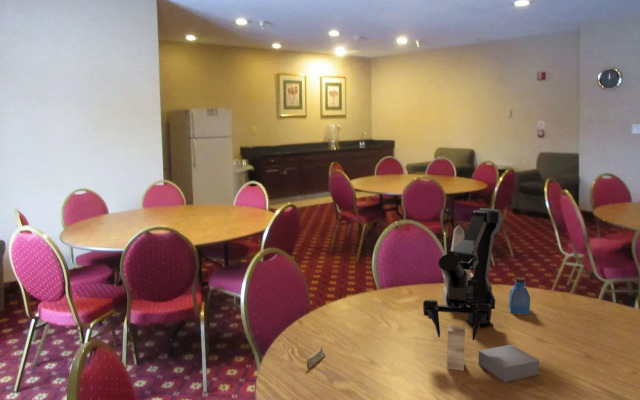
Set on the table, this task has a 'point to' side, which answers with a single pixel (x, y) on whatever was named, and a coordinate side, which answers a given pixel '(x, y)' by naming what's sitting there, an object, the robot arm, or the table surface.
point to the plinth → (508, 363)
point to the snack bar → (315, 358)
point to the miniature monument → (457, 239)
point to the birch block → (456, 347)
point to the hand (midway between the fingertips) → (456, 338)
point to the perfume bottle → (519, 297)
